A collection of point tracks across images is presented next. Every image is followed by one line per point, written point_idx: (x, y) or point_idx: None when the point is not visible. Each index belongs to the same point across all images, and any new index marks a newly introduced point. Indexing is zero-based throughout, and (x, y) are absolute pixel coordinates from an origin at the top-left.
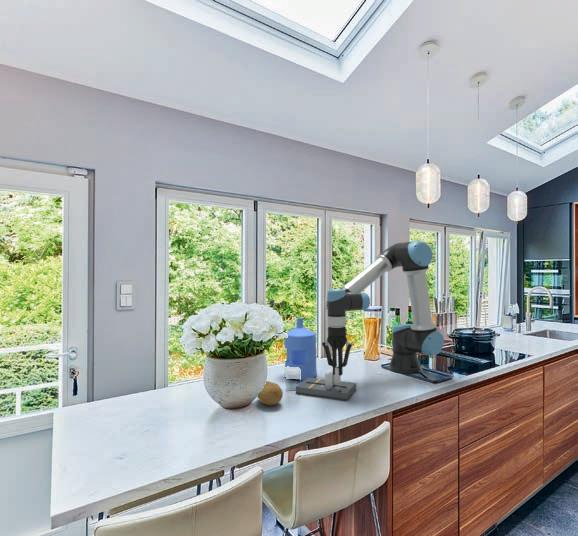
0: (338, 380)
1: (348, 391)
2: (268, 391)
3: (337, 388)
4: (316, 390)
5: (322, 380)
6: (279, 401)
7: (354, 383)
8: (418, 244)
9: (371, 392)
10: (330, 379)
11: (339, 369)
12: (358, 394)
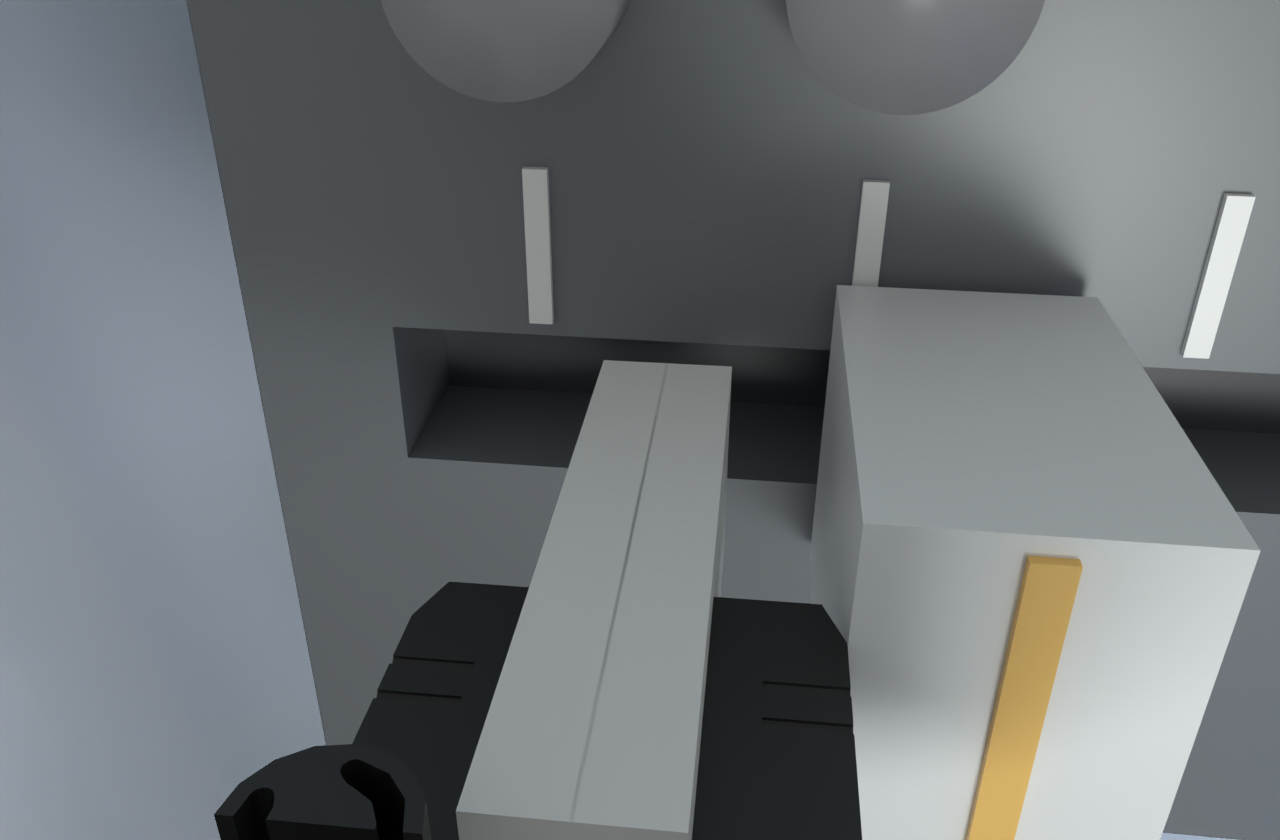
0: (585, 418)
1: (196, 46)
2: None
3: None
4: None
5: (1258, 749)
6: None
7: (343, 720)
8: None
9: (52, 591)
10: (917, 399)
11: (452, 801)
12: (225, 407)
